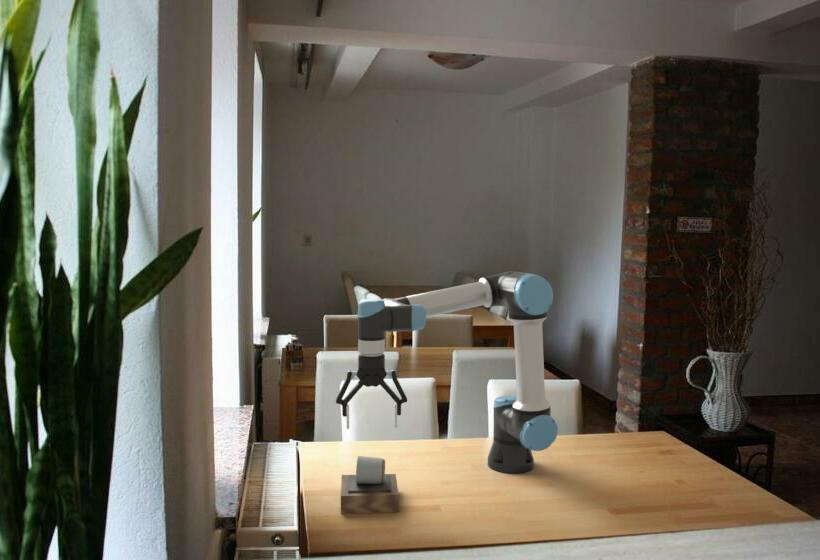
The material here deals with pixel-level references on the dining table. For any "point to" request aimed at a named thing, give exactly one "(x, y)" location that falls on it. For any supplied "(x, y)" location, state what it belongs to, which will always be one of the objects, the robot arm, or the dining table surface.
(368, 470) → the ceramic mug
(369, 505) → the walnut base
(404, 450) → the dining table surface
